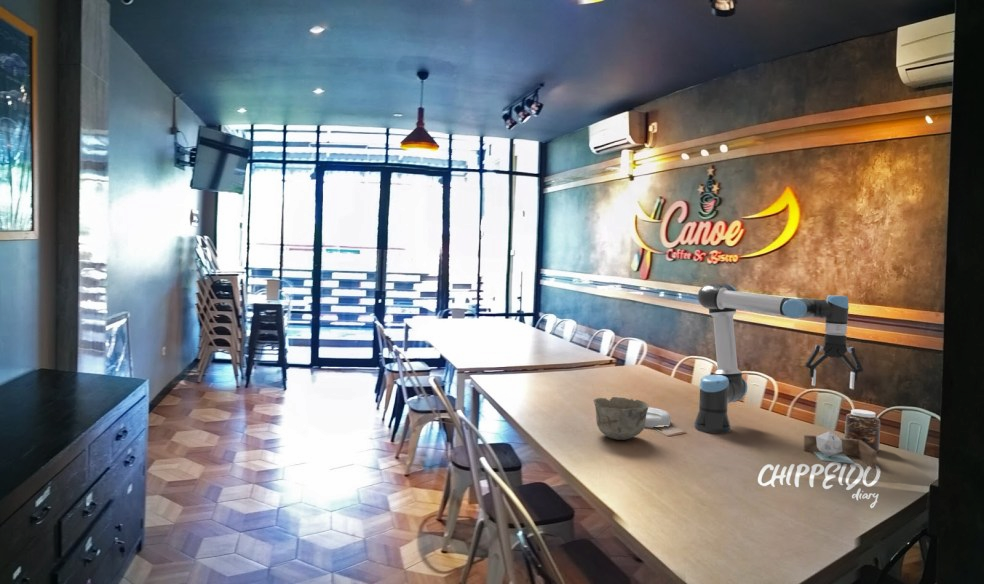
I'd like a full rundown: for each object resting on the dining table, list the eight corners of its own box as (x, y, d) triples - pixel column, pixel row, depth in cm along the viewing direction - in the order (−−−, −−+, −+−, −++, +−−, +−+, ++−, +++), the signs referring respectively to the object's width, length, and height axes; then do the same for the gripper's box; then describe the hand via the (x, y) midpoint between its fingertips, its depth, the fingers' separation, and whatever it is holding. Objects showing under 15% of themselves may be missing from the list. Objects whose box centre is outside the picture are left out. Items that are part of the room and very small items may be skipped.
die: (823, 460, 219) (824, 433, 219) (811, 452, 228) (812, 427, 227) (846, 461, 218) (847, 434, 218) (833, 453, 227) (834, 428, 227)
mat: (821, 460, 219) (821, 459, 219) (813, 452, 230) (813, 451, 230) (854, 463, 217) (854, 462, 217) (844, 455, 227) (844, 454, 227)
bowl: (651, 436, 246) (652, 400, 245) (641, 449, 226) (643, 410, 226) (599, 428, 255) (601, 394, 255) (586, 441, 235) (587, 403, 235)
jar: (874, 446, 241) (875, 410, 241) (882, 454, 230) (884, 416, 230) (841, 442, 245) (843, 407, 244) (848, 450, 234) (850, 413, 233)
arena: (814, 462, 217) (815, 445, 217) (803, 449, 233) (804, 434, 233) (875, 468, 212) (876, 451, 212) (860, 455, 228) (860, 439, 228)
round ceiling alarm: (681, 423, 272) (682, 409, 271) (667, 434, 250) (667, 420, 250) (629, 414, 285) (629, 402, 284) (611, 425, 263) (611, 411, 263)
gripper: (803, 332, 234) (799, 385, 234) (874, 337, 226) (871, 391, 227) (798, 331, 241) (795, 382, 242) (868, 335, 234) (864, 388, 235)
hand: (832, 387), depth 234 cm, fingers open, 13 cm apart
